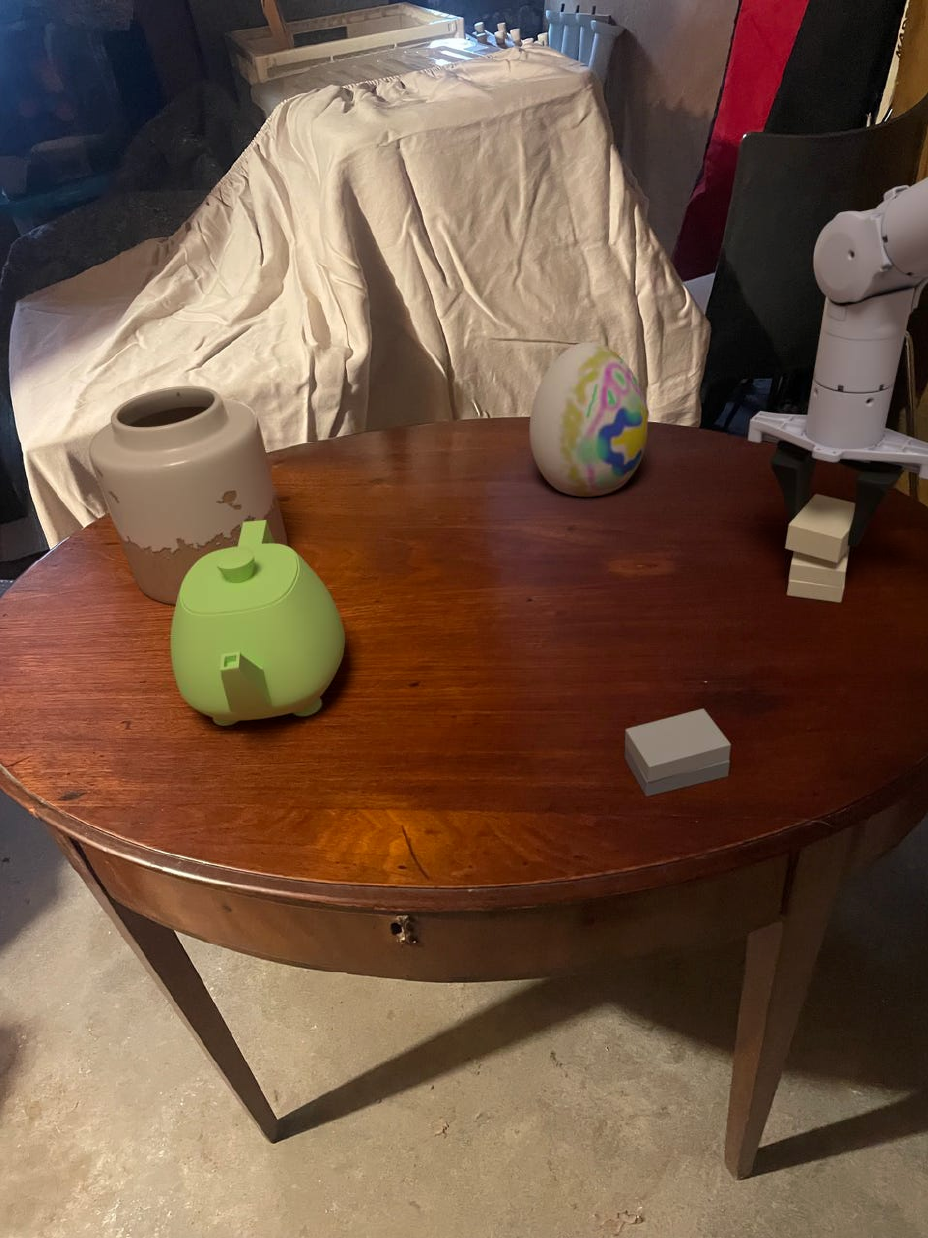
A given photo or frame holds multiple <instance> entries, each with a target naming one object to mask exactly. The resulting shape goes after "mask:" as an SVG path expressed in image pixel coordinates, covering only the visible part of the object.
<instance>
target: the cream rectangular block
mask: <svg viewBox="0 0 928 1238" xmlns="http://www.w3.org/2000/svg"><path fill="white" fill-rule="evenodd" d="M854 509H855V502H852V501H848V500H845V499H844V500H843V499H839V498H835V497H830V496H827V495H822V494H818V493H815V494H814V495H813V497H812V498H811V499H809V502H808V503H807V505H806V506H805V507H804V508H803V509H802V510H801V511H800V512H799V514H798V515H797V516H796V517H795V518H794V519H793V520H792V521H791V523H790V524H789V526H788V525H787V534H786V540H785V545H784V548H785V549H786V550H789V551H792V552H794V551H796V552H799V553H803V554H807V555H810V556H814V557H817V558H821V559H825V560H828V561H832V562H835V563H838V561H839V560H840V559H841V557H842V556H843V555H844V554H845V552H846V551H847V550H848V548H849V549H850V547H851V546H847V545H848V536H849V530H850V526H851V523H852V519H853V515H854Z"/></svg>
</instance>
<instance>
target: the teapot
mask: <svg viewBox="0 0 928 1238" xmlns="http://www.w3.org/2000/svg"><path fill="white" fill-rule="evenodd" d="M171 621H172V622H171V629H170V657H171V658H170V659H171V665H172V671H173V676H174V679H175V682H176V686H177V689H178V692H179V693H180V695H181V698H182V699H183V700H184V701H185V702H186V703H187V705H188V706H189V707H191V708H193V709H194V710H196V711H197V712H199V713H201V714H203V715H205V716H208V717H211V718H212V721H213V723H215V724H216V725H218V726H224V727H225V726H227V727H228V726H231V725H234V724H236V723H238V722H239V721H252V720H263V719H269V718H273V717H274V718H275V717H280V716H284V715H288V714H293V715H294V716H297V717H308V716H311V715H313V714H315V713H317V712H318V711H319V710H320V709H321V708H322V706H323V700H322V698H320V697H322V696H323V694H325V691H326V690H327V689H328V688H329V686H330V685H331V683H332V681H333V679H334V678H335V676H336V674H337V672H338V669H339V667H340V665H341V663H342V661H343V658H344V652H345V647H346V646H345V645H346V633H345V628H344V624H343V620H342V618H341V615H340V612H339V609H338V608H337V605H336V603H335V601H334V599H333V597H332V595H331V593H330V592H329V589H328V588H327V587H326V585H325V583H324V581H322V579H321V578H320V577H319V575H318V574H317V573H316V571H314V569H313V568H311V566H310V565H309V564H308V563H307V562H306V561H305V560H304V558H303V557H302V556H300V554H299V553H297V551H295V549H293V548H291V547H290V546H289V545H288V546H285V545H282V544H275V543H274V540H273V537H272V535H271V532H270V529H269V526H268V523H267V520H261V521H250V522H243V526H242V530H241V534H240V539H239V543H238V546H237V547H231V548H226V549H221V550H217V551H214V552H211V553H209V554H207V555H205V556H204V557H202V558H201V559H200V560H198V561H197V562H196V563H195V564H194V565H193V566H192V568H191V569H190V570H189V572H188V573H187V575H186V576H185V578H184V580H183V582H182V585H181V588H180V591H179V594H178V598H177V602H176V605H175V607H174V611H173V616H172V620H171Z"/></svg>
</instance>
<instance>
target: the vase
mask: <svg viewBox="0 0 928 1238" xmlns="http://www.w3.org/2000/svg"><path fill="white" fill-rule="evenodd" d="M88 456H89V461H90V464H91V466H92V470H93V472H94V475H95V477H96V480H97V483H98V486H99V488H100V491H101V493H102V496H103V499H104V502H105V504H106V507H107V510H108V513H109V515H110V518H111V521H112V522H113V526H114V528H115V531H116V534H117V537H118V540H119V541H120V544H121V547H122V550H123V552H124V555H125V557H126V560H127V564H128V565H129V569H130V571H131V574H132V577H133V579H134V581H135V583H136V585H137V587H138V588H139V590H140V591H141V592H142V593H143V594H145V595H146V596H147V597H149V598H150V599H151V600H154V601H156V602H159V603H161V604H162V603H163V604H167V605H173V606H176V602H177V598H178V594H179V591H180V588H181V585H182V582H183V580H184V578H185V576H186V575H187V573H188V572H189V570H190V569H191V568H192V566H193V565H194V564H195V563H196V562H197V561H198V560H200V559H201V558H202V557H204V556H205V555H207V554H209V553H211V552H214V551H217V550H221V549H226V548H231V547H237V546H238V543H239V539H240V534H241V530H242V526H243V522H250V521H261V520H267V523H268V526H269V529H270V532H271V535H272V537H273V540H274V543H275V544H282V545H285V546H288V547H289V544H288V538H287V533H286V529H285V524H284V521H283V515H282V513H281V508H280V503H279V499H278V496H277V491H276V487H275V483H274V479H273V474H272V470H271V466H270V462H269V458H268V454H267V449H266V446H265V442H264V438H263V433H262V429H261V425H260V422H259V418H258V416H257V415H256V413H255V411H254V410H253V409H252V408H251V407H250V406H248V405H247V404H245V403H244V402H242V401H239V400H236V399H231V398H225V397H222V395H221V394H220V393H219V392H218V391H216V390H215V389H213V388H211V387H207V386H201V385H177V386H170V387H164V388H159V389H155V390H154V389H153V390H151V391H148V392H145V393H141V394H139V395H136V396H134V397H132V398H129V399H127V400H126V401H125V402H123V403H121V404H120V405H119V406H117V407H115V409H114V410H113V412H112V413H111V415H110V422H109V423H108V424H106V425H105V426H104V427H102V428H101V429H100V430H98V432H97V433H96V434H95V435H94V436H93V437H92V439H91V441H90V443H89V446H88Z"/></svg>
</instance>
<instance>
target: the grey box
mask: <svg viewBox="0 0 928 1238" xmlns="http://www.w3.org/2000/svg"><path fill="white" fill-rule="evenodd" d="M624 730H625V733H624V734H625V735H624V736H625V738H624V739H625V740H624V760H625V762H626V763H627V766H628V767H629V769H630V771H631V772H632V774H633V776H634V778H635V779H636V782H637V784H638V785H639V787H640V789H641V791H642V792H643V794H644V796H645V798H646V797H650V796H656V795H659V794H662V793H663V794H664V793H667V792H671V791H675V790H679V789H683V788H686V787H691V786H696V785H699V784H702V783H707V782H711V781H715V780H718V779H719V780H720V779H723V778H727V777H729V771H730V763H731V761H730V753H731V746H732V744H731V743H730V742H729V740H728V738H727V737H726V736H725V734H724V733H723V732H722V731H721V730H720V728H719V727H718V726H717V724H716V723H715V721H714V720H713V719H712V718H711V716H710V715H709V714H708V712H707V711H706V710H705V708H699V709H696V710H693V711H688V712H685V713H684V712H683V713H681V714H677V715H674V716H670V717H669V716H668V717H665V718H662V719H658V720H654V721H651V722H648V723H643V724H639V725H637V726H632V727H629V728H626V729H624Z"/></svg>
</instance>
